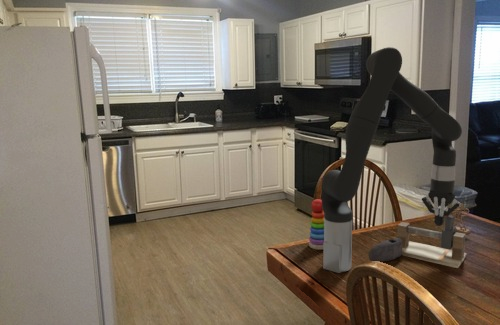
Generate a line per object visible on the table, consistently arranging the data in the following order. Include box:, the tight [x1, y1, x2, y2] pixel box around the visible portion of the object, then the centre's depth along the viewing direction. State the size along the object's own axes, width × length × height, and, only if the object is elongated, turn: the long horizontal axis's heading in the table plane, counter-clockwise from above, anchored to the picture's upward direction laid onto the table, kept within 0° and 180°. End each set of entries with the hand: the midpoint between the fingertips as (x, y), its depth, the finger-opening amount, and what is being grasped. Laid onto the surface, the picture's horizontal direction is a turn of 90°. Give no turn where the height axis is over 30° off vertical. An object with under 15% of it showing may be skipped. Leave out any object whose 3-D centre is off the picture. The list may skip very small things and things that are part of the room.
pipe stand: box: [396, 221, 468, 269], centre depth 153 cm, size 12×22×10 cm, turn 51°
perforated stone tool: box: [368, 237, 403, 263], centre depth 150 cm, size 15×5×7 cm, turn 114°
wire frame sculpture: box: [448, 203, 471, 235], centre depth 176 cm, size 9×4×12 cm, turn 38°
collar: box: [440, 215, 457, 250], centre depth 148 cm, size 6×3×10 cm, turn 141°
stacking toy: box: [308, 198, 324, 251], centre depth 162 cm, size 8×8×19 cm
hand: (439, 225), depth 150 cm, fingers closed
